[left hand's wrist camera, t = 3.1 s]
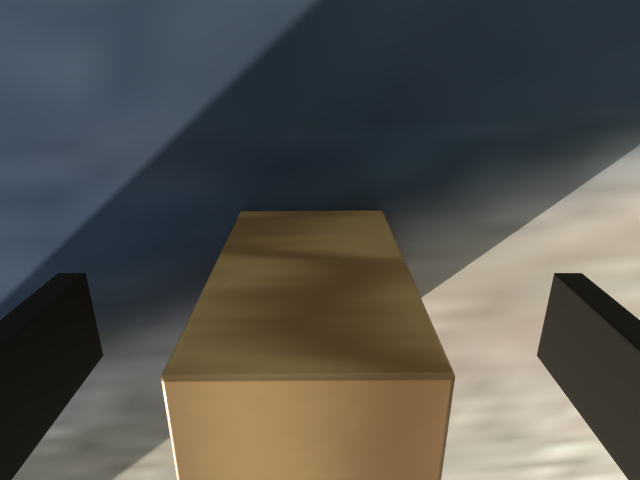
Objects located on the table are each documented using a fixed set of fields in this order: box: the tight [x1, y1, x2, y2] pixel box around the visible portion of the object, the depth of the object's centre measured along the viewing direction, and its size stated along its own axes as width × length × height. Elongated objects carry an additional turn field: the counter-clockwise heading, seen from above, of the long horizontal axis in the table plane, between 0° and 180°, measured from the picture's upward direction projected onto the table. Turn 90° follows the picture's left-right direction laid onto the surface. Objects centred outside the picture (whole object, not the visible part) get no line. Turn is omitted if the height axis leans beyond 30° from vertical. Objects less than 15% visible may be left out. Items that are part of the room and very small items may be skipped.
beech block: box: [161, 211, 455, 480], centre depth 11 cm, size 4×4×8 cm
